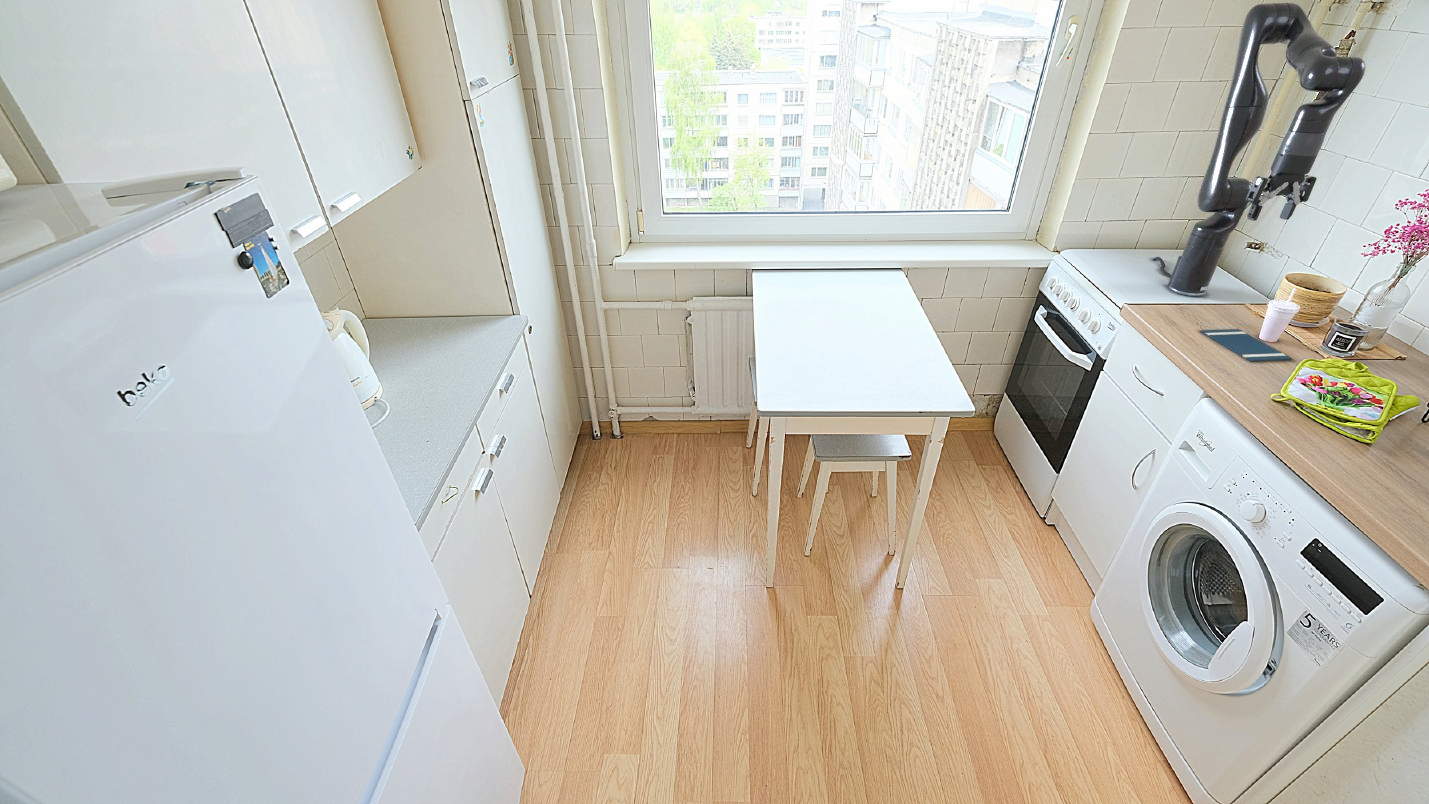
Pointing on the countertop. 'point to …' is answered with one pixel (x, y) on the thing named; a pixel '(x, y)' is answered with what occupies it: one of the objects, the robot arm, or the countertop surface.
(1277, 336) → the smoothie
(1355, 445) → the countertop surface
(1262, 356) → the tea towel
